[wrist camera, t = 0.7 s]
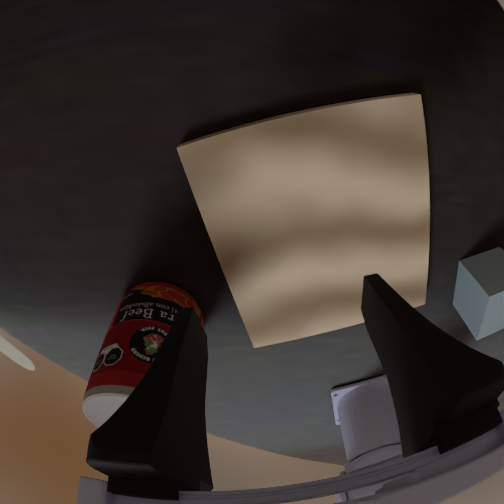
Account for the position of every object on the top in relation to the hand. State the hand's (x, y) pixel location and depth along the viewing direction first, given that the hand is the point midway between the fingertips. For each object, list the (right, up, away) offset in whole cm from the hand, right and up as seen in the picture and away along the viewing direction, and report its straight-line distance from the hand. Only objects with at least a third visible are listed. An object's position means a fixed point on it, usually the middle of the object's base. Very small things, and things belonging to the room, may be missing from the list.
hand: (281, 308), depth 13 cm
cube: (+21, 0, +13) cm, 25 cm away
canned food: (-9, -3, +14) cm, 17 cm away
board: (+4, +4, +10) cm, 11 cm away
